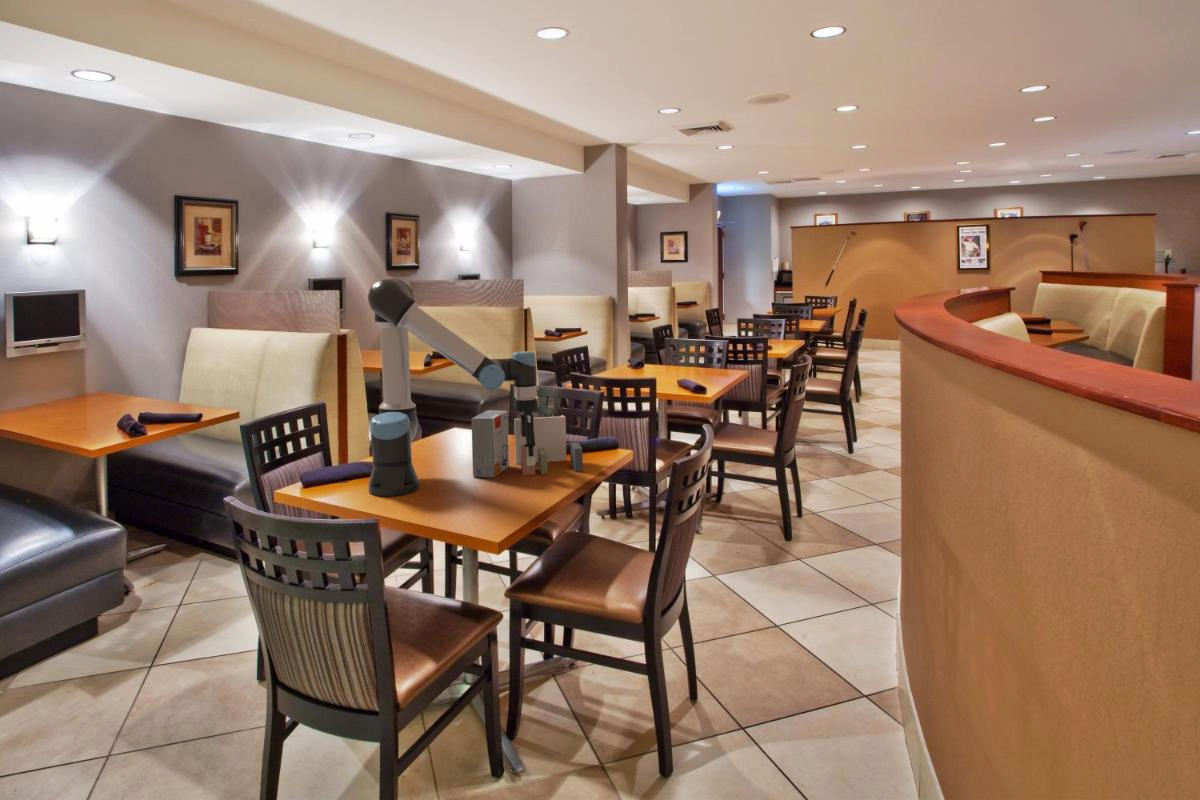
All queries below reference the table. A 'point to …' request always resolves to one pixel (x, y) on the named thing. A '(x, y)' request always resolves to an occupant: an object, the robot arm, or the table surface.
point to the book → (525, 463)
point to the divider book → (542, 460)
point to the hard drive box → (490, 443)
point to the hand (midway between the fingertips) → (528, 460)
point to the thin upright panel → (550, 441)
